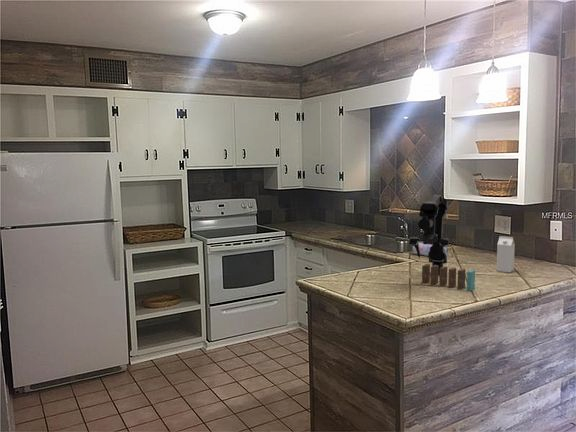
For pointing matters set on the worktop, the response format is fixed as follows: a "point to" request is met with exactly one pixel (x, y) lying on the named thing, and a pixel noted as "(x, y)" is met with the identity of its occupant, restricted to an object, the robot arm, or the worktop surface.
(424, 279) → the walnut domino
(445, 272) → the walnut domino
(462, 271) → the walnut domino
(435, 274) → the walnut domino
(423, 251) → the pencil case
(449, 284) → the walnut domino
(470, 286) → the teal domino
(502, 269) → the milk carton
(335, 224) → the worktop surface
